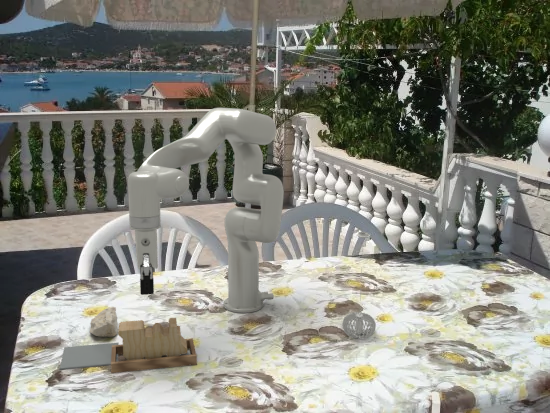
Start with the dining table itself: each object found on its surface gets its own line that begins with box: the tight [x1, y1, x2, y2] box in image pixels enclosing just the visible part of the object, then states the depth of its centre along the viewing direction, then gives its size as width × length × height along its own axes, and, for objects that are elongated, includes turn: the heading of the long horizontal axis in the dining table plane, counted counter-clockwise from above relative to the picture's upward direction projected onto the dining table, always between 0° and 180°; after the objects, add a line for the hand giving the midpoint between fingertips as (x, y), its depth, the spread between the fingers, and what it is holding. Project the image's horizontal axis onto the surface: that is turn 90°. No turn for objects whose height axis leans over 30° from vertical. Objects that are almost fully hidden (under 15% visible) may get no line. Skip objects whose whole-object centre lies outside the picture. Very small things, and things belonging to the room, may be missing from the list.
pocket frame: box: [110, 337, 198, 374], centre depth 160 cm, size 21×10×2 cm, turn 103°
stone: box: [89, 306, 119, 338], centre depth 175 cm, size 8×12×10 cm, turn 12°
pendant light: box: [342, 231, 377, 340], centre depth 172 cm, size 9×9×30 cm
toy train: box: [117, 317, 188, 361], centre depth 159 cm, size 6×17×10 cm, turn 101°
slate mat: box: [59, 342, 120, 371], centre depth 161 cm, size 14×12×1 cm
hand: (147, 287), depth 157 cm, fingers open, 9 cm apart
